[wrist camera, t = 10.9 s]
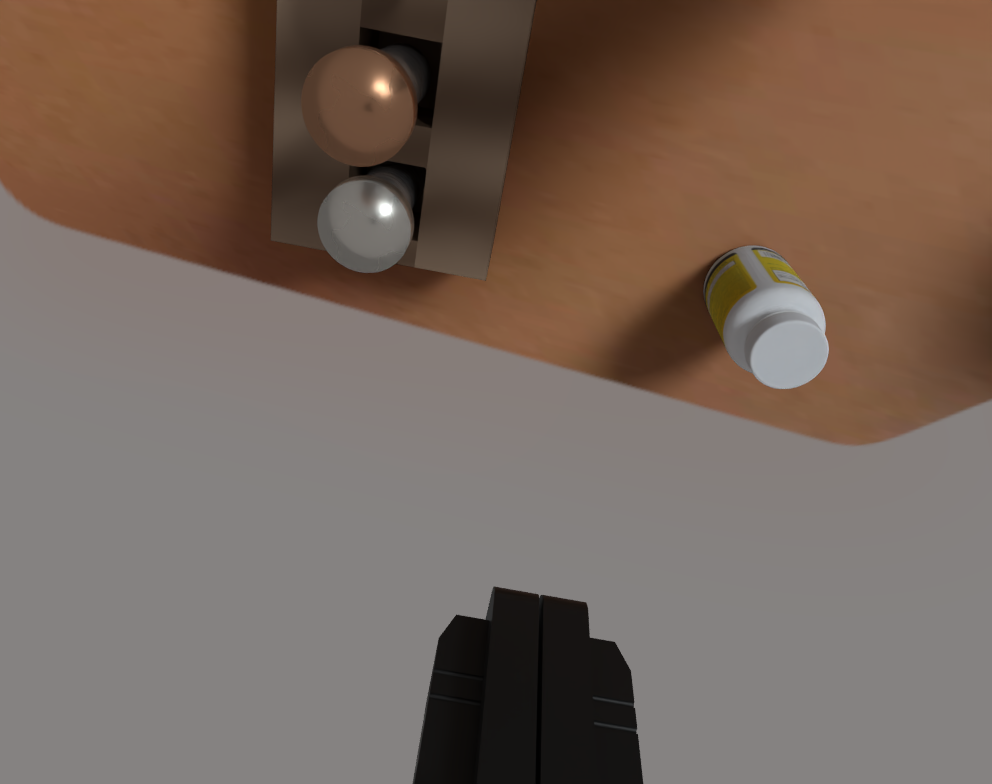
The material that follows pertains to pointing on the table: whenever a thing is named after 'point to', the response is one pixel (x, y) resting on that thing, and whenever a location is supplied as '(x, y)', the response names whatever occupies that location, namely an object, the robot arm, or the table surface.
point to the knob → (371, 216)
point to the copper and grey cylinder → (365, 101)
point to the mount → (439, 125)
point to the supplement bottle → (766, 317)
